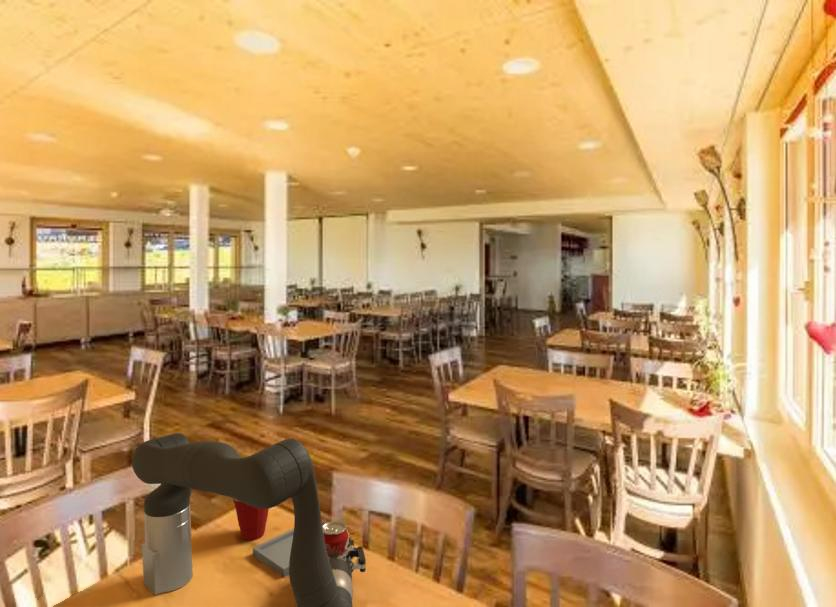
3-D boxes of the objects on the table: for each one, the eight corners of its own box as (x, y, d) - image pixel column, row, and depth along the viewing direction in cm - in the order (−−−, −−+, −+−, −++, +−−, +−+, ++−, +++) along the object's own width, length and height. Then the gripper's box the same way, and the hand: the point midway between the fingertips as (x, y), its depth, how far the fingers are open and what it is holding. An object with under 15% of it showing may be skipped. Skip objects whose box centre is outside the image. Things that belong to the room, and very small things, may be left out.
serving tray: (284, 577, 118) (284, 569, 117) (252, 555, 126) (252, 547, 126) (328, 552, 127) (328, 545, 127) (296, 534, 136) (296, 526, 136)
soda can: (342, 588, 114) (342, 536, 113) (314, 584, 115) (313, 533, 114) (352, 570, 120) (352, 521, 119) (325, 566, 122) (325, 518, 121)
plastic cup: (283, 531, 137) (282, 487, 136) (251, 550, 128) (250, 504, 127) (256, 519, 143) (255, 478, 142) (222, 537, 134) (221, 493, 133)
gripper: (369, 567, 104) (364, 524, 120) (296, 573, 101) (301, 529, 118) (369, 602, 105) (364, 555, 121) (297, 609, 102) (301, 560, 118)
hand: (333, 542), depth 119 cm, fingers closed on soda can, 6 cm apart
